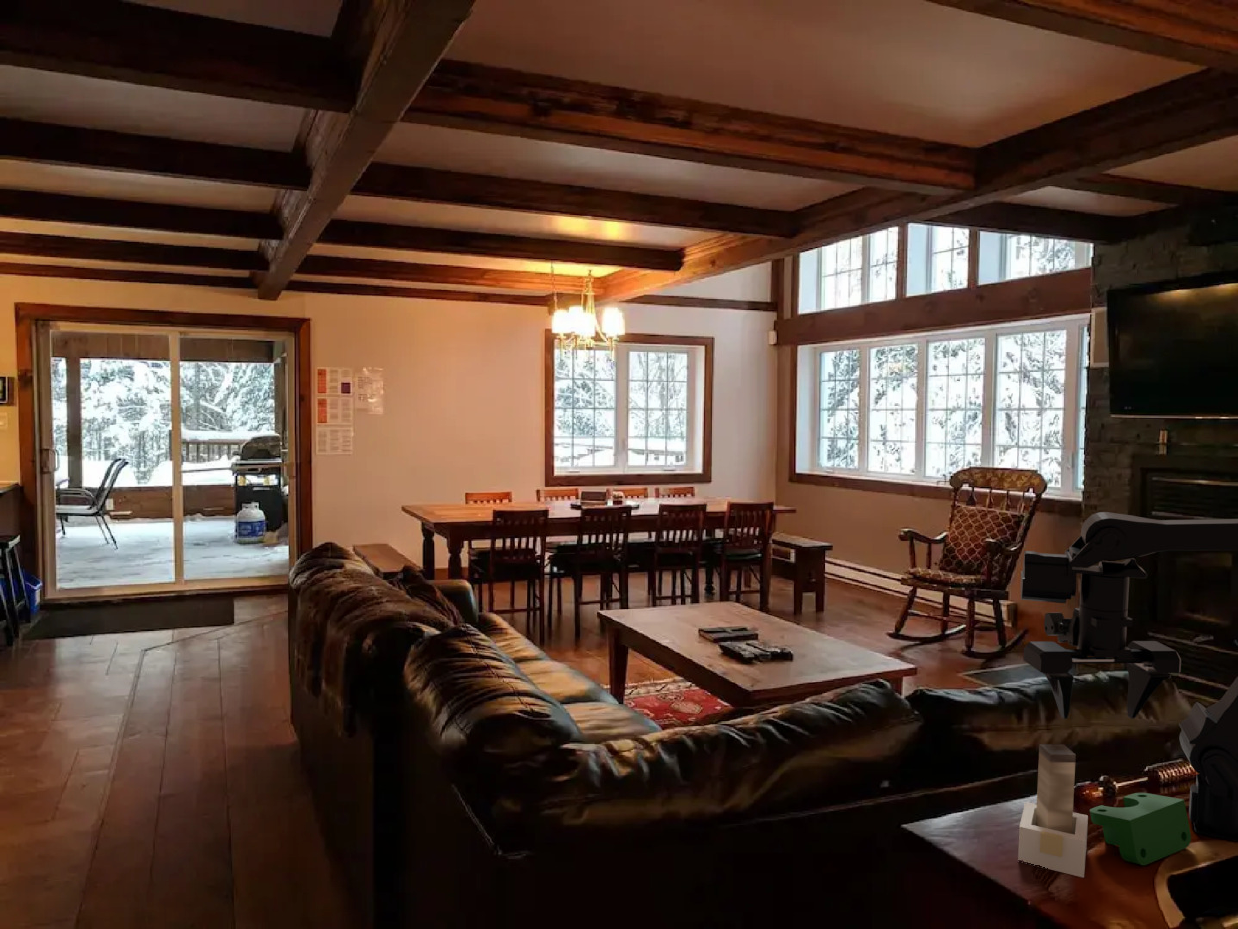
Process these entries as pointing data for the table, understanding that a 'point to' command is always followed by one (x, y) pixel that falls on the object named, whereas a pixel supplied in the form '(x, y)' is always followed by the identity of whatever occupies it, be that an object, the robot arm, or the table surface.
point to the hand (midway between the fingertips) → (1097, 717)
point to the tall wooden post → (1055, 787)
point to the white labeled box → (1053, 843)
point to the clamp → (1145, 826)
